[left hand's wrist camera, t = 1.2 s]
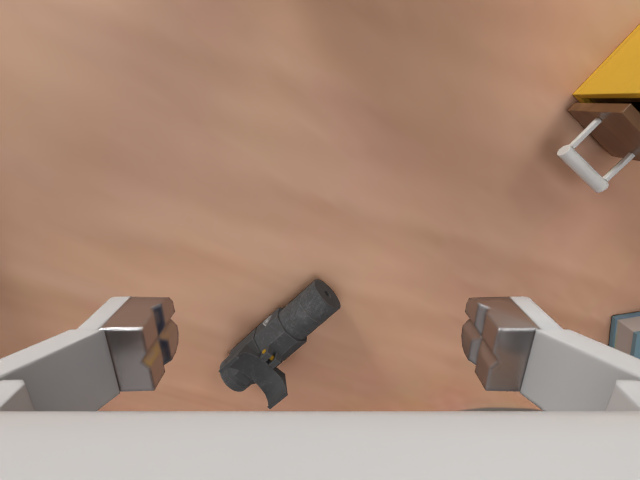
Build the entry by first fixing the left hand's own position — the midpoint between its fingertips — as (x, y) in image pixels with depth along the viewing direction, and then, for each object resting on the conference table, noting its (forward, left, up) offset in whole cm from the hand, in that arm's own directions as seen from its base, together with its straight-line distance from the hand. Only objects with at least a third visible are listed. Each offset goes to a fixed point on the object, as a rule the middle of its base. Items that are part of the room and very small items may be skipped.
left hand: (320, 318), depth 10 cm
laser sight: (+30, -3, -42) cm, 52 cm away
